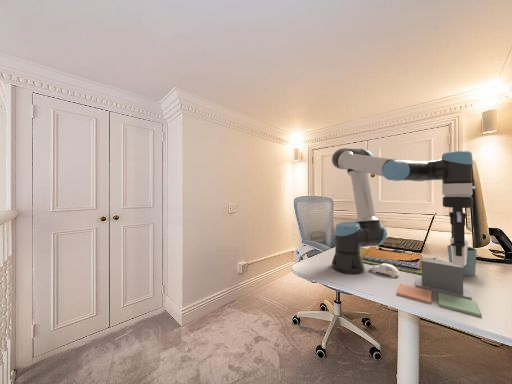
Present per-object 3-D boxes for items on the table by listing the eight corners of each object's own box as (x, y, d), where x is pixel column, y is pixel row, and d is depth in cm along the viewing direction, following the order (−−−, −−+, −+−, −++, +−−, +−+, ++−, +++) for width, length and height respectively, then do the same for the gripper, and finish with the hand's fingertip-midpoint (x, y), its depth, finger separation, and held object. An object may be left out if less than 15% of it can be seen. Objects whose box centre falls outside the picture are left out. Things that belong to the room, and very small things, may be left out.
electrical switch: (446, 283, 87) (443, 261, 88) (430, 281, 91) (428, 260, 91) (444, 276, 95) (441, 256, 95) (430, 274, 98) (427, 255, 99)
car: (400, 274, 98) (400, 265, 98) (398, 279, 93) (398, 268, 93) (372, 268, 106) (372, 259, 106) (369, 272, 101) (369, 262, 101)
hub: (415, 287, 84) (415, 260, 84) (416, 280, 90) (416, 255, 90) (471, 300, 74) (471, 270, 74) (468, 292, 80) (468, 264, 80)
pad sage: (439, 305, 71) (439, 303, 71) (438, 294, 78) (438, 292, 78) (481, 317, 64) (481, 314, 64) (476, 303, 72) (476, 301, 72)
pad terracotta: (397, 294, 79) (397, 292, 79) (400, 285, 86) (400, 283, 86) (431, 303, 72) (431, 301, 72) (431, 292, 80) (431, 290, 80)
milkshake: (446, 260, 75) (446, 232, 75) (467, 263, 71) (467, 234, 71) (447, 263, 71) (447, 235, 71) (469, 267, 68) (469, 237, 68)
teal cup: (475, 278, 92) (475, 251, 92) (445, 271, 100) (445, 247, 100) (477, 272, 99) (477, 247, 99) (449, 266, 107) (449, 243, 107)
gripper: (477, 196, 62) (477, 273, 62) (469, 195, 75) (469, 259, 75) (443, 196, 67) (444, 267, 67) (441, 195, 80) (442, 255, 80)
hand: (457, 263), depth 71 cm, fingers closed on milkshake, 4 cm apart
